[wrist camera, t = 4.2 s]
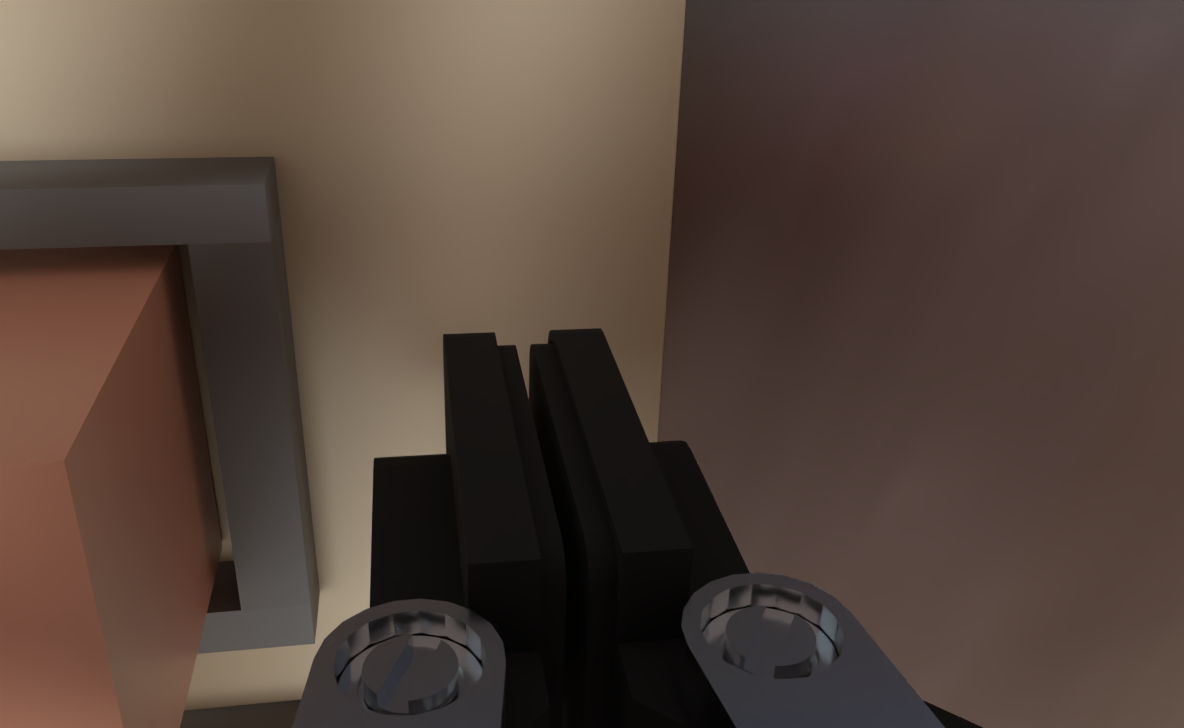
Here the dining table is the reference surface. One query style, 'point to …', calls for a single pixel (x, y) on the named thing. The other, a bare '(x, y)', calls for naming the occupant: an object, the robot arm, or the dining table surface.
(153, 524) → the pink block
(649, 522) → the robot arm
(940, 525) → the dining table surface
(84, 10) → the switch board
